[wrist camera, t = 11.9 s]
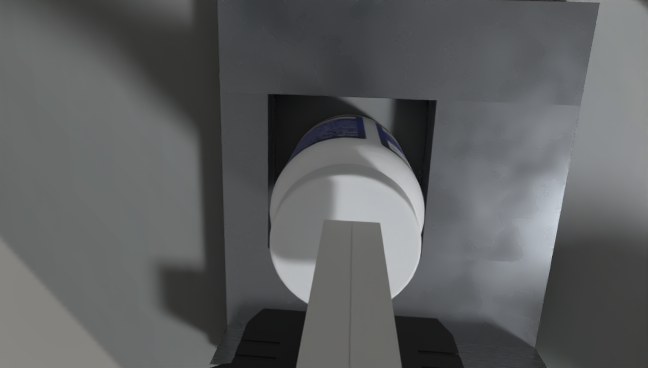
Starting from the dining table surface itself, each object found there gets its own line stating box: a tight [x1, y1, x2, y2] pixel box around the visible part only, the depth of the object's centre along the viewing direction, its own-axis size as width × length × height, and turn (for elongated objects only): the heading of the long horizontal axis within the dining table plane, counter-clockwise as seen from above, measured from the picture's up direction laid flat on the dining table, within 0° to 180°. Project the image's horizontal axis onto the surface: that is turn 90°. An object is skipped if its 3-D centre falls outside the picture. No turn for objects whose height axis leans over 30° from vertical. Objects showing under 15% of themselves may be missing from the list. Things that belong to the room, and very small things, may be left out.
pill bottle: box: [270, 115, 424, 303], centre depth 18 cm, size 6×6×10 cm
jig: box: [210, 0, 600, 368], centre depth 21 cm, size 20×16×5 cm
